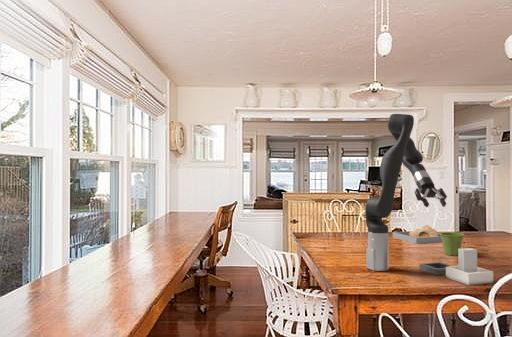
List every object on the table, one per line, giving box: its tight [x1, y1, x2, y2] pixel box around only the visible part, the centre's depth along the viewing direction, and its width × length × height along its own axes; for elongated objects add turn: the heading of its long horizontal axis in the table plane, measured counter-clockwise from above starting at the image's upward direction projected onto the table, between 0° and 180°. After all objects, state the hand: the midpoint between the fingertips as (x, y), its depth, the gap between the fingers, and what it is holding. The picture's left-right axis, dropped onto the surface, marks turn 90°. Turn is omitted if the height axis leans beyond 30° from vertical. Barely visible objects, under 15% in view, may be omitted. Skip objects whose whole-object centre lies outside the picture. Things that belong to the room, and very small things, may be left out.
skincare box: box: [457, 247, 478, 273], centre depth 169 cm, size 6×4×12 cm
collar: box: [419, 261, 451, 276], centre depth 184 cm, size 11×11×2 cm
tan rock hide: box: [409, 224, 439, 238], centre depth 262 cm, size 18×14×8 cm
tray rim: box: [392, 230, 443, 245], centre depth 266 cm, size 24×24×4 cm
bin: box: [445, 265, 494, 286], centre depth 169 cm, size 12×12×4 cm
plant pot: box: [439, 231, 465, 257], centre depth 219 cm, size 12×12×11 cm
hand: (436, 205), depth 194 cm, fingers open, 8 cm apart
